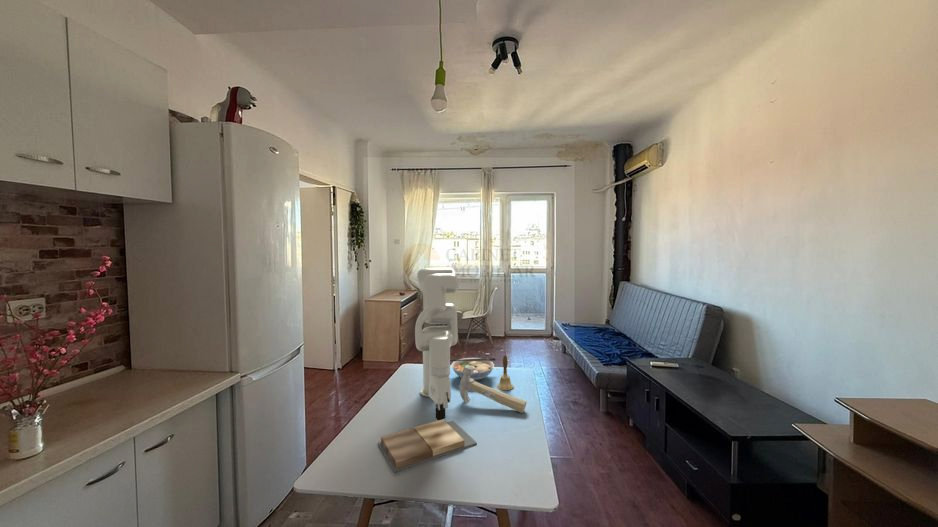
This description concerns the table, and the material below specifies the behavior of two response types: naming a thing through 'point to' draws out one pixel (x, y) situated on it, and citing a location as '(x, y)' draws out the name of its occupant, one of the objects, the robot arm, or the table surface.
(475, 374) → the ramen bowl
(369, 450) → the table surface
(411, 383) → the table surface
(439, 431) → the oak plank
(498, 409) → the table surface
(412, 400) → the table surface
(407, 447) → the floor section
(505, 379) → the hand bell
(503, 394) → the hammer
